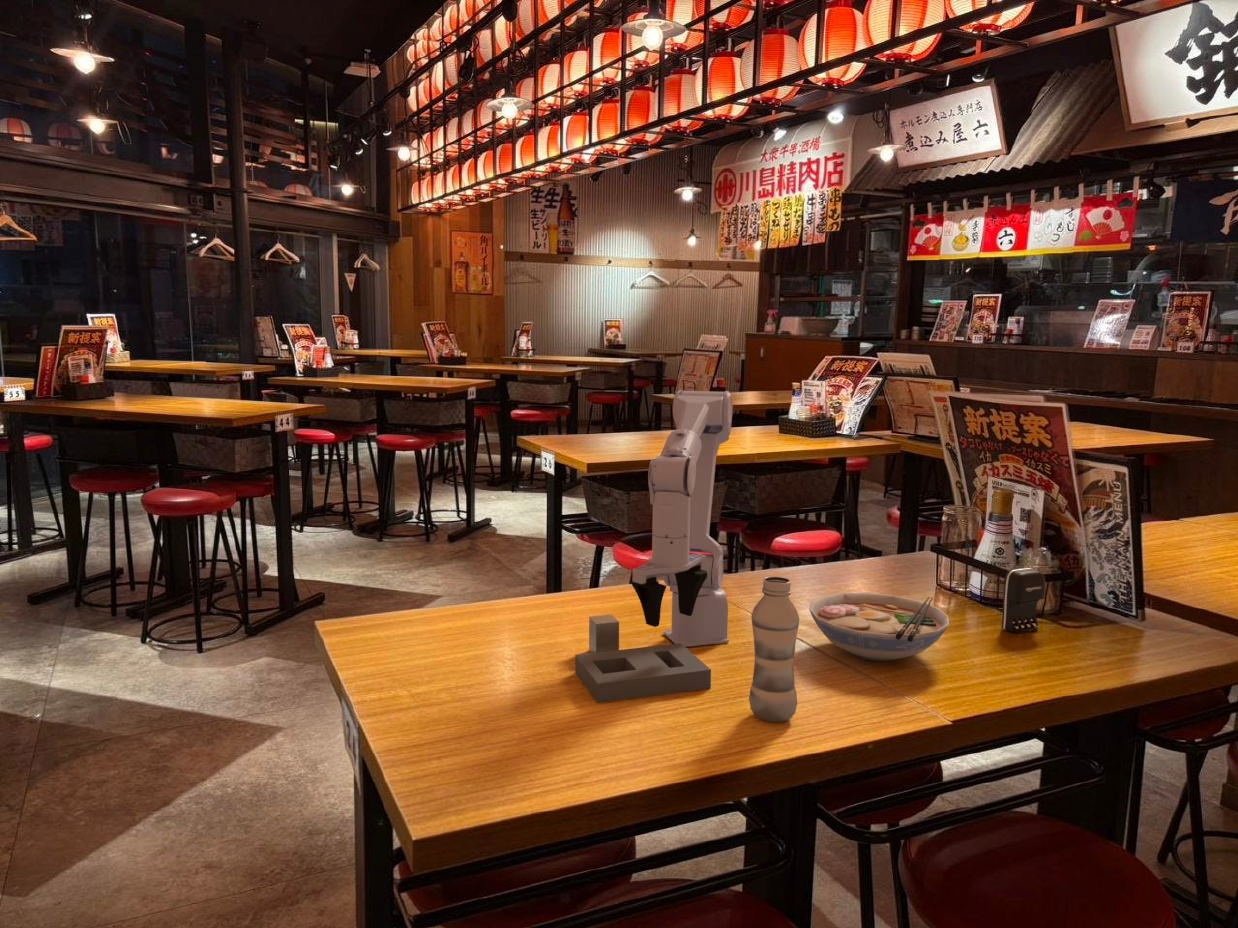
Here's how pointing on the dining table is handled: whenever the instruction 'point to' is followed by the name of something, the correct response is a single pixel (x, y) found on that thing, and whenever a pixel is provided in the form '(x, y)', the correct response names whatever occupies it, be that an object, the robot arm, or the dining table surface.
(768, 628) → the plastic bottle
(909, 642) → the ramen bowl
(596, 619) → the square bit
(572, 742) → the dining table surface
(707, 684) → the socket block
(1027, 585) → the battery charger
